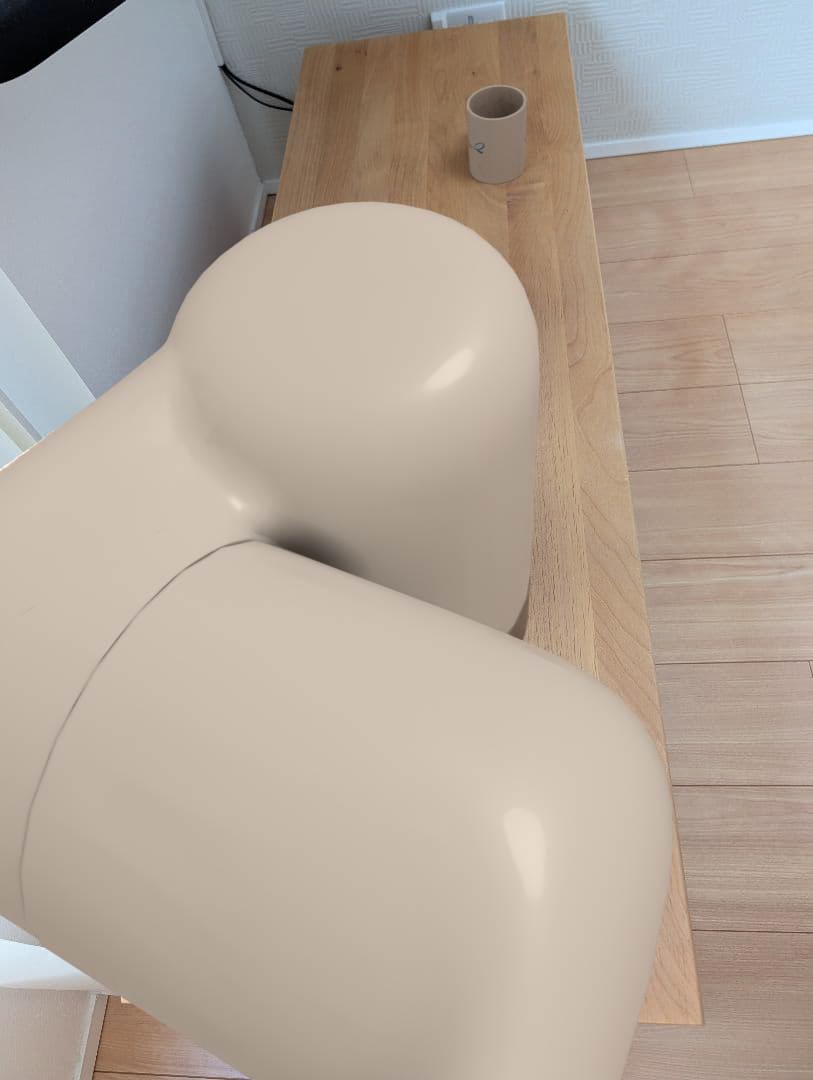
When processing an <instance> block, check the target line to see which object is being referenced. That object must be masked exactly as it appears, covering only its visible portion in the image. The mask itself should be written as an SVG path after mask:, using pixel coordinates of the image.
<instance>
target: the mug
mask: <svg viewBox="0 0 813 1080" xmlns="http://www.w3.org/2000/svg"><path fill="white" fill-rule="evenodd" d="M465 105H466V108H465V109H466V125H467V128H466V129H467V144H468V146H467V147H468V164H469V165H468V166H469V173H470V175H471V176H472V178H473V179H475V180H476V181H478V182H481V183H483V184H489V185H498V184H501V185H502V184H506V183H509V182H511V181H514V180H516V179H518V178H519V177H520V176H521V175H522V174H523V173H524V171H525V169H526V165H527V163H526V162H527V117H528V115H527V114H528V112H527V111H528V109H527V108H528V97H527V95H526V94H525V92H524V91H522V89H520V88H518V87H516V86H512V85H509V84H508V85H507V84H493V85H489V86H488V85H487V86H485V87H482V88H479V89H477V90H475V91H474V92H473V93H471V95H469V97H468V98H467V100H466V104H465Z"/></svg>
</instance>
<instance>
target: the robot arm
mask: <svg viewBox="0 0 813 1080" xmlns="http://www.w3.org/2000/svg"><path fill="white" fill-rule="evenodd" d="M539 341H540V340H539V329H538V325H537V321H536V317H535V315H534V312H533V309H532V307H531V303H530V301H529V298H528V295H527V291H526V290H525V287H524V285H523V284H522V282H521V280H520V279H519V277H518V275H517V273H516V272H515V270H514V269H513V267H512V266H511V265H510V264H509V262H508V261H507V259H505V257H503V255H502V254H501V252H500V251H498V250H497V249H496V248H495V247H494V246H493V245H491V243H489V242H488V241H487V240H486V239H484V238H483V237H482V236H481V235H480V234H479V233H477V231H475V230H473V229H471V228H469V227H468V226H466V225H465V224H463V223H461V222H459V221H458V220H456V219H453V218H451V217H449V216H446V215H443V214H441V213H438V212H435V211H432V210H430V209H426V208H421V207H416V206H412V205H407V204H401V203H393V202H381V201H353V202H350V201H349V202H341V203H334V204H328V205H321V206H317V207H313V208H310V209H306V210H302V211H299V212H295V213H292V214H290V215H287V216H284V217H283V218H280V219H278V220H275V221H272V222H270V223H268V224H266V225H265V226H262V227H261V228H259V229H257V230H256V231H254V232H252V233H250V234H248V235H246V236H245V237H244V238H242V239H241V240H240V241H239V242H237V243H235V244H234V245H233V246H232V247H230V248H229V249H227V250H226V251H225V252H223V253H222V254H221V255H219V257H217V258H216V259H215V260H214V262H212V264H210V266H208V267H207V268H206V269H205V270H204V271H203V272H202V273H201V275H200V276H199V277H198V278H197V280H196V282H195V283H194V284H193V285H192V287H191V288H190V289H189V291H188V292H187V293H186V296H185V298H184V299H183V302H182V304H181V305H180V308H179V310H178V311H177V313H176V316H175V319H174V321H173V324H172V327H171V329H170V332H169V335H168V337H167V339H166V341H165V342H164V344H162V346H161V347H160V348H159V349H158V350H157V351H155V352H154V353H152V355H150V356H149V357H148V358H147V359H145V360H144V361H143V362H142V363H140V364H139V365H138V366H137V367H135V368H134V369H133V370H132V371H131V372H129V373H128V374H127V375H125V376H124V377H123V378H122V379H121V380H119V381H118V382H117V383H116V384H114V385H113V386H112V387H111V388H109V389H108V390H107V391H105V393H103V394H101V395H100V396H99V397H97V398H96V399H95V400H93V401H92V402H91V403H89V404H88V405H86V406H85V407H84V408H83V409H80V411H79V412H76V414H74V415H73V416H72V417H70V418H69V419H67V420H66V421H65V422H64V423H62V424H60V425H59V426H57V427H56V428H55V429H54V430H52V431H50V433H49V434H47V435H45V436H44V437H43V438H41V439H40V440H39V441H38V442H36V443H35V444H33V445H32V446H30V447H29V448H28V449H26V450H25V451H23V452H22V453H20V455H18V456H17V457H15V458H14V459H12V460H11V461H9V462H8V463H7V464H5V465H4V466H2V467H1V468H0V916H1V917H2V918H4V919H6V920H7V921H9V922H11V923H12V924H14V925H15V926H16V927H18V928H20V929H21V930H23V931H25V932H26V933H28V934H29V935H31V936H33V938H35V939H37V940H38V941H39V944H40V945H41V946H42V948H44V949H46V950H48V951H49V952H50V953H52V954H53V955H55V956H57V957H58V958H60V959H61V960H62V961H64V962H66V963H67V964H69V965H71V966H72V967H74V968H75V969H77V970H79V971H80V972H82V973H83V974H84V975H86V976H88V977H89V978H91V979H92V980H94V981H95V982H97V983H98V984H100V985H102V986H104V987H105V988H107V989H108V990H109V991H110V992H112V993H114V994H116V995H118V996H119V997H120V998H122V999H124V1000H125V1001H127V1002H128V1003H130V1004H132V1005H133V1006H135V1007H136V1008H138V1009H139V1010H141V1011H143V1012H144V1013H146V1014H147V1015H149V1016H151V1017H152V1018H153V1019H155V1020H157V1021H158V1022H160V1023H162V1024H163V1025H165V1026H167V1027H168V1028H169V1029H171V1030H173V1031H175V1032H176V1033H178V1034H179V1035H181V1036H182V1037H184V1038H186V1039H187V1040H189V1041H190V1042H192V1043H193V1044H195V1045H197V1046H198V1047H200V1048H201V1049H203V1050H204V1051H206V1052H207V1053H209V1054H211V1055H213V1057H215V1058H217V1059H218V1060H219V1061H222V1062H223V1063H225V1064H226V1065H228V1066H230V1067H231V1068H233V1069H234V1070H236V1071H237V1072H239V1073H240V1074H242V1075H243V1076H245V1077H246V1078H248V1079H249V1080H622V1079H623V1075H624V1072H625V1068H626V1065H627V1061H628V1059H629V1055H630V1051H631V1048H632V1044H633V1041H634V1037H635V1034H636V1030H637V1026H638V1023H639V1019H640V1016H641V1013H642V1009H643V1005H644V1003H645V998H646V995H647V991H648V988H649V985H650V981H651V977H652V973H653V968H654V963H655V959H656V953H657V948H658V943H659V938H660V934H661V928H662V923H663V919H664V913H665V909H666V903H667V900H668V895H669V894H668V893H669V888H670V882H671V876H672V875H671V874H672V863H673V852H674V813H673V812H674V811H673V801H672V795H671V789H670V785H669V779H668V774H667V771H666V768H665V765H664V763H663V760H662V757H661V754H660V752H659V750H658V749H659V748H657V744H656V742H655V740H654V739H653V736H651V734H650V733H649V731H648V730H647V727H646V726H645V724H644V723H643V722H642V720H641V718H640V716H638V715H637V714H636V712H635V711H634V710H633V709H632V708H631V707H630V706H629V705H628V704H627V703H626V702H625V701H624V700H623V699H622V698H621V697H620V696H619V694H617V693H616V692H615V691H613V690H612V688H609V687H608V686H607V685H606V684H605V683H603V682H601V681H600V679H598V678H596V676H594V675H593V674H592V673H590V672H588V671H587V670H585V669H583V668H581V667H580V666H578V665H577V664H575V663H573V662H571V661H570V660H568V659H566V658H563V657H562V656H559V655H557V654H555V653H552V652H550V651H548V650H546V649H544V648H541V647H539V646H537V645H534V644H532V643H529V642H528V641H526V639H527V633H528V624H529V623H528V622H529V612H530V611H529V610H530V591H531V590H530V589H531V571H532V570H531V569H532V549H533V530H534V513H535V512H534V511H535V493H536V474H537V473H536V472H537V470H536V469H537V454H538V434H539V433H538V431H539V430H538V429H539V412H540V391H541V367H540V366H541V365H540V364H541V363H540V342H539Z"/></svg>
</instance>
